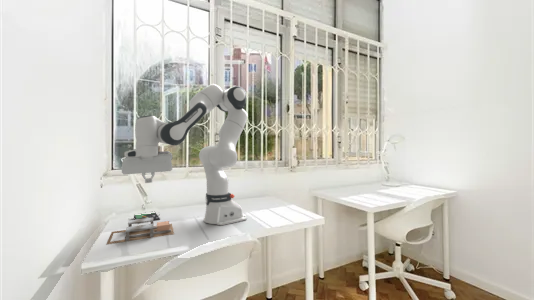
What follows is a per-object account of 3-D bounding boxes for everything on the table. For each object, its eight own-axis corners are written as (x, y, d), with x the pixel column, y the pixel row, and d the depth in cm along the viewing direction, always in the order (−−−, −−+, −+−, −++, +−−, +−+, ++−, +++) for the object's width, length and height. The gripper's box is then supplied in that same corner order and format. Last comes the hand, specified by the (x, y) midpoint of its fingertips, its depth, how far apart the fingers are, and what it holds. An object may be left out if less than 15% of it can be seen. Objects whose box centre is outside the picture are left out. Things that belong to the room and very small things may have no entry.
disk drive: (160, 223, 120) (154, 215, 132) (160, 218, 120) (154, 210, 132) (137, 228, 114) (133, 219, 126) (137, 222, 114) (133, 214, 125)
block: (168, 227, 109) (168, 221, 109) (169, 231, 105) (169, 224, 105) (157, 229, 107) (156, 222, 107) (157, 233, 103) (157, 226, 102)
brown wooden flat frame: (171, 226, 114) (171, 214, 114) (174, 237, 102) (174, 224, 101) (111, 235, 104) (111, 222, 103) (106, 248, 91) (105, 233, 91)
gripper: (171, 150, 113) (172, 179, 114) (121, 152, 104) (123, 183, 105) (172, 151, 107) (174, 181, 108) (120, 153, 98) (121, 186, 99)
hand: (148, 182), depth 106 cm, fingers closed
